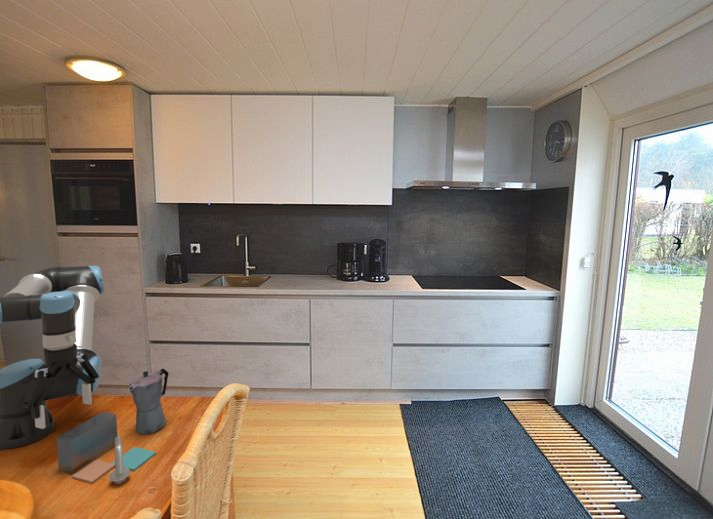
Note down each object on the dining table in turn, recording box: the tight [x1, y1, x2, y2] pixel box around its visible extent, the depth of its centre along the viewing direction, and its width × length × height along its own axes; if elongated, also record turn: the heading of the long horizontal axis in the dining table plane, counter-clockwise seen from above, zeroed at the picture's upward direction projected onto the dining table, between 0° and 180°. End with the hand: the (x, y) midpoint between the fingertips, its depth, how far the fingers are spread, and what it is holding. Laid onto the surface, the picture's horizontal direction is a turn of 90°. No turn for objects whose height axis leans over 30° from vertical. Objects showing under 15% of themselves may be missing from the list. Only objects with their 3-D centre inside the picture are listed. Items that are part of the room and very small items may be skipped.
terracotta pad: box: [71, 459, 115, 484], centre depth 102 cm, size 7×7×1 cm
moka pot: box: [127, 368, 169, 435], centre depth 123 cm, size 10×15×20 cm, turn 166°
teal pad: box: [111, 446, 157, 472], centre depth 108 cm, size 8×8×1 cm
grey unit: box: [56, 411, 118, 476], centre depth 108 cm, size 5×14×10 cm, turn 165°
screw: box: [108, 435, 131, 485], centre depth 99 cm, size 13×5×5 cm
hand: (65, 414), depth 109 cm, fingers open, 13 cm apart
